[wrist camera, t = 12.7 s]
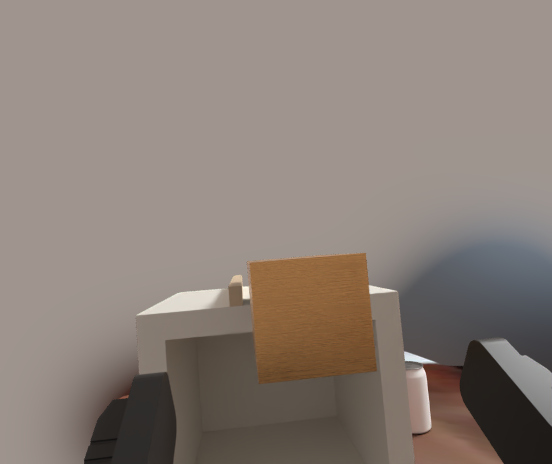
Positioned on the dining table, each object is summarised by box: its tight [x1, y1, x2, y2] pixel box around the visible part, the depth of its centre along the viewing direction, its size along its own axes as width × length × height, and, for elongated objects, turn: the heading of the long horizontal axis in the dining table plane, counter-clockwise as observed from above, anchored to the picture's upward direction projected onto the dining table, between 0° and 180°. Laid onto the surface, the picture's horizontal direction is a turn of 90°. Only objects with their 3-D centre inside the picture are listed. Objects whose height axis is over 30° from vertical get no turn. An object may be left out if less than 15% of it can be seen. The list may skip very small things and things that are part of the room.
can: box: [405, 361, 431, 434], centre depth 78 cm, size 6×6×12 cm
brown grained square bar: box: [247, 253, 377, 384], centre depth 23 cm, size 3×24×3 cm, turn 5°
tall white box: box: [136, 275, 415, 464], centre depth 39 cm, size 20×20×34 cm
